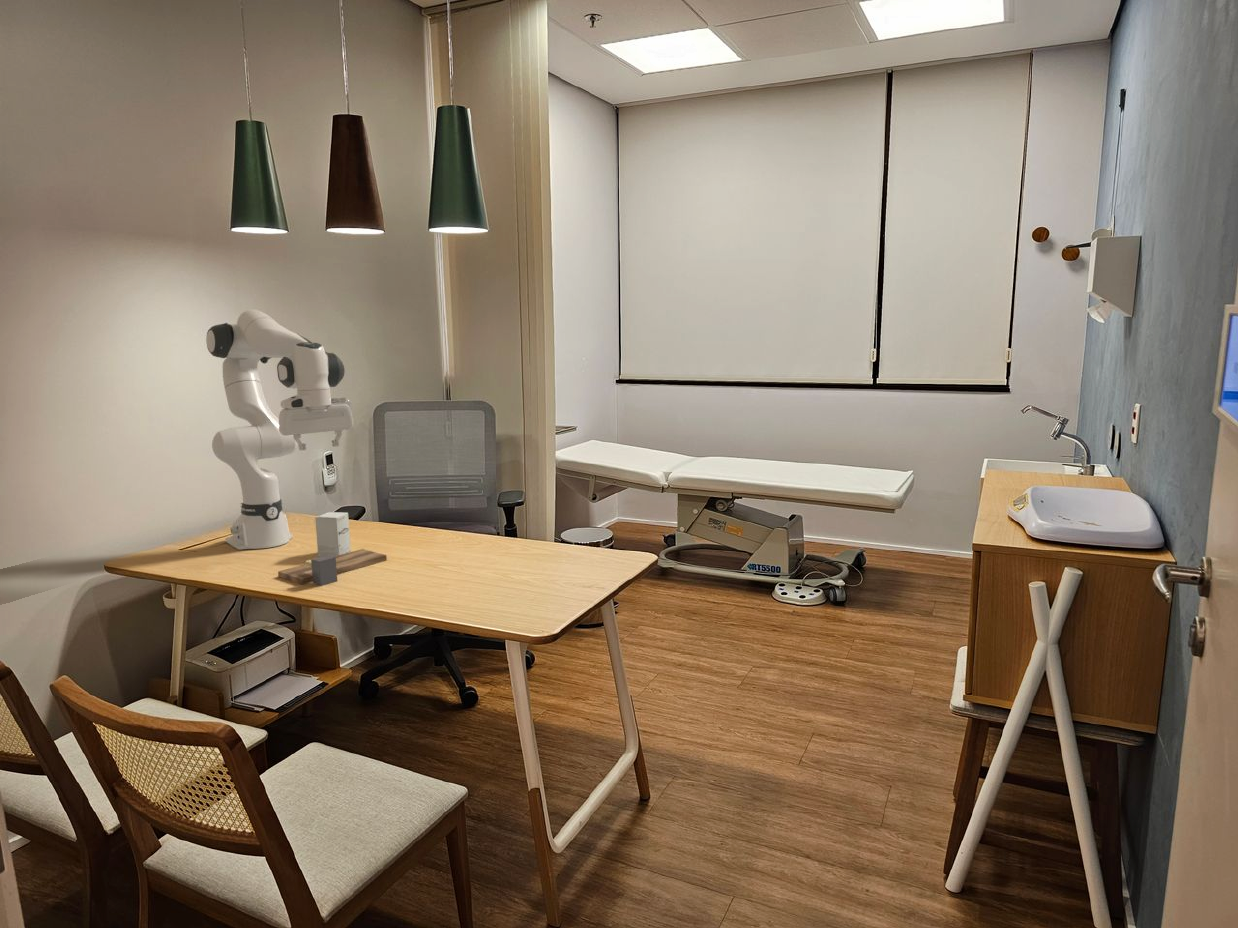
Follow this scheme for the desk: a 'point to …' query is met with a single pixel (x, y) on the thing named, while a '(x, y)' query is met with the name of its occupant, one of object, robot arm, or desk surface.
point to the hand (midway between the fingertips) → (319, 448)
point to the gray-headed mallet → (323, 569)
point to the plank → (342, 565)
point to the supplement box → (333, 534)
